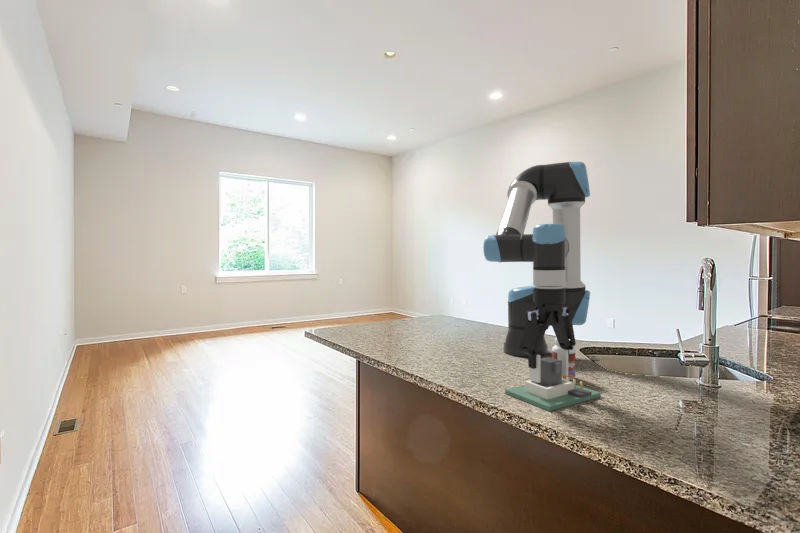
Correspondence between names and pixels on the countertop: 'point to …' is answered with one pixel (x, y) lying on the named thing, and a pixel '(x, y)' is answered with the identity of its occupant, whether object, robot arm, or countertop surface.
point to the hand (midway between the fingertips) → (549, 377)
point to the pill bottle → (570, 363)
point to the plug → (550, 372)
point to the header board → (553, 394)
